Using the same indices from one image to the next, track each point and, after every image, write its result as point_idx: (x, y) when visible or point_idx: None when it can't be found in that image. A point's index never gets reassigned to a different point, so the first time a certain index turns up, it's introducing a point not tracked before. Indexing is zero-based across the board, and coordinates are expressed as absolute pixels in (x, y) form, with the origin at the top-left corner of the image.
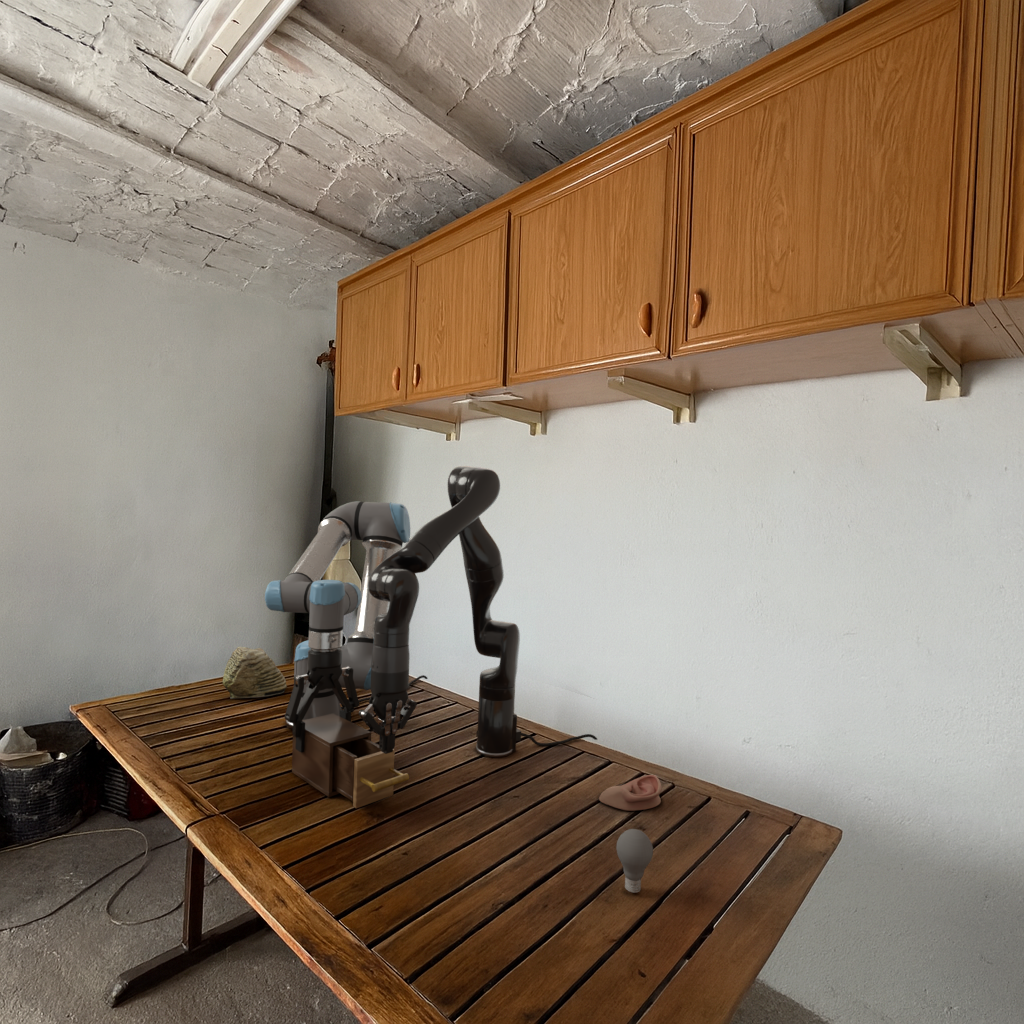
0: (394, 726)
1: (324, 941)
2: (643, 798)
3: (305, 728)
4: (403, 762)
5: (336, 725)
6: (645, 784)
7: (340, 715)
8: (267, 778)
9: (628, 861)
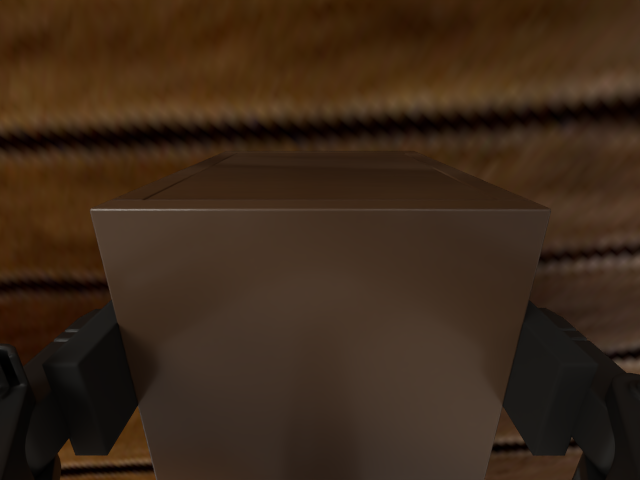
0: None
1: None
2: None
3: (144, 397)
4: (588, 331)
5: (365, 466)
6: None
7: (527, 345)
8: (120, 142)
9: None
